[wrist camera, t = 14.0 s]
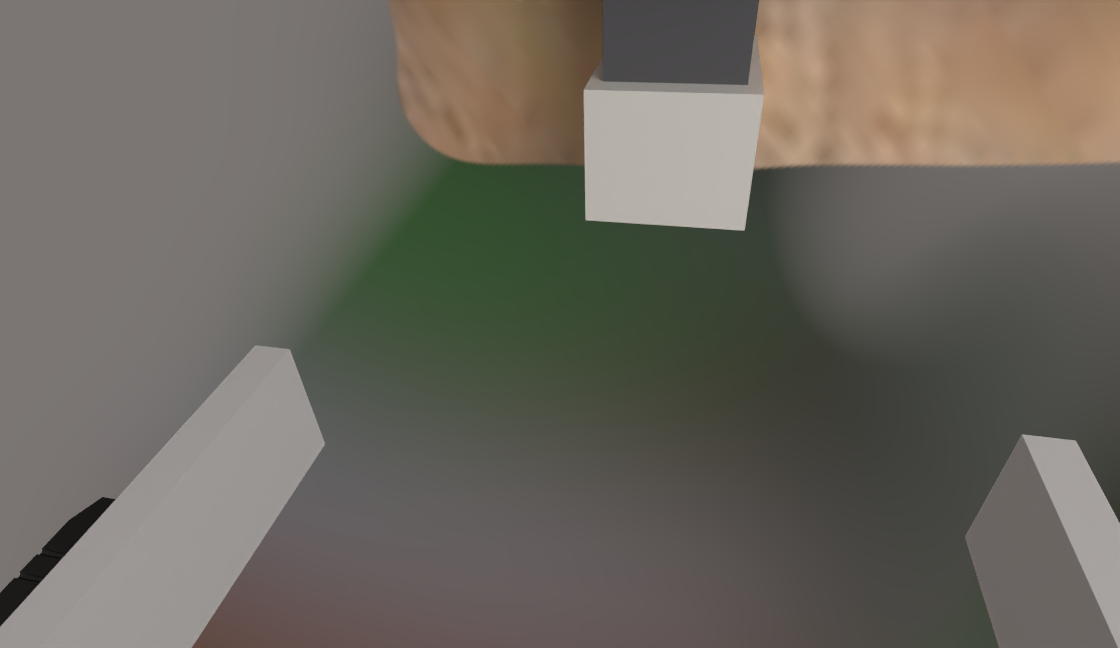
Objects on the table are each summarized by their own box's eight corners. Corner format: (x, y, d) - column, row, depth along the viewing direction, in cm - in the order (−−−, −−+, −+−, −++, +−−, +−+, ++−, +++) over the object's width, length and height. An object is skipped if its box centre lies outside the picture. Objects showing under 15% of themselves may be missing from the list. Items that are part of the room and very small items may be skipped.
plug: (618, -165, 25) (579, -163, 19) (784, -173, 24) (802, -173, 17) (614, 172, 33) (586, 253, 27) (738, 179, 32) (739, 265, 25)
